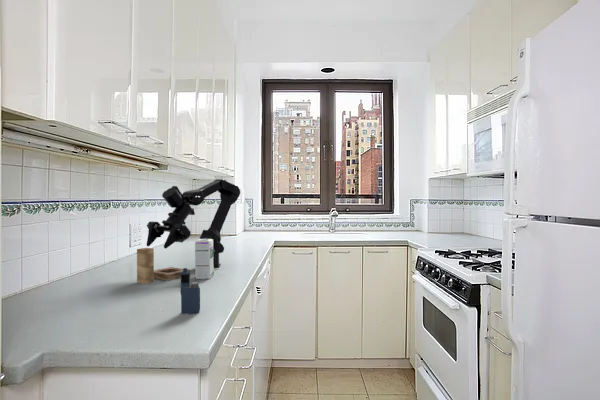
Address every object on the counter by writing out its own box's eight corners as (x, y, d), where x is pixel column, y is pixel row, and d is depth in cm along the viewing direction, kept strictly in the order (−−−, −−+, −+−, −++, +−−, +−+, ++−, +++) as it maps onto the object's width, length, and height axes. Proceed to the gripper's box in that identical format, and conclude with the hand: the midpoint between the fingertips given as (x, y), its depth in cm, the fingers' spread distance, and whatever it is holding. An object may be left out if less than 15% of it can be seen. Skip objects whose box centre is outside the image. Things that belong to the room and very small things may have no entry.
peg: (146, 280, 147) (146, 247, 147) (153, 281, 145) (153, 248, 144) (137, 282, 143) (136, 249, 143) (144, 283, 141) (144, 249, 141)
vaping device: (182, 311, 109) (182, 267, 109) (201, 311, 109) (201, 267, 109) (179, 313, 107) (179, 269, 107) (198, 314, 107) (198, 269, 106)
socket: (170, 272, 161) (170, 267, 161) (190, 275, 156) (190, 269, 156) (147, 277, 152) (147, 271, 152) (167, 280, 146) (167, 274, 146)
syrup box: (210, 279, 149) (210, 240, 149) (194, 279, 149) (194, 240, 149) (213, 275, 155) (214, 238, 155) (198, 275, 155) (198, 238, 155)
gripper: (206, 230, 158) (185, 262, 148) (173, 227, 167) (151, 257, 157) (192, 211, 151) (169, 243, 141) (158, 209, 160) (134, 239, 150)
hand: (155, 246), depth 148 cm, fingers open, 9 cm apart
